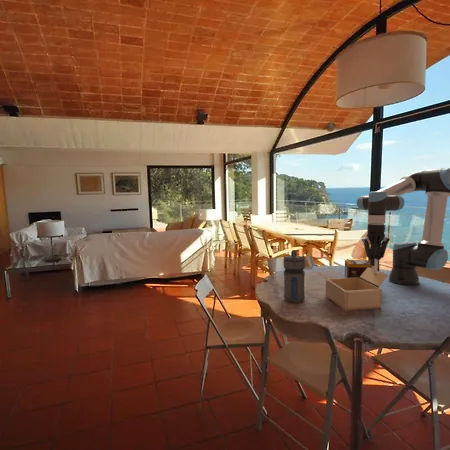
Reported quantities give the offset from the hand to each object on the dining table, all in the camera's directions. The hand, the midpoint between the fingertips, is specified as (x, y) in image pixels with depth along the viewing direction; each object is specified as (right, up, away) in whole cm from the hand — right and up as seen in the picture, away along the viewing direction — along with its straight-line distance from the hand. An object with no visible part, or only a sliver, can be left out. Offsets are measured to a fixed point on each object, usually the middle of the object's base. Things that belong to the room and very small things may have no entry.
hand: (374, 272), depth 145 cm
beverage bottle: (-38, -15, +6) cm, 41 cm away
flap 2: (-3, -5, 0) cm, 6 cm away
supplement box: (+1, -13, +17) cm, 22 cm away
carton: (-11, -14, 0) cm, 18 cm away
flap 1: (-19, -5, -1) cm, 20 cm away
